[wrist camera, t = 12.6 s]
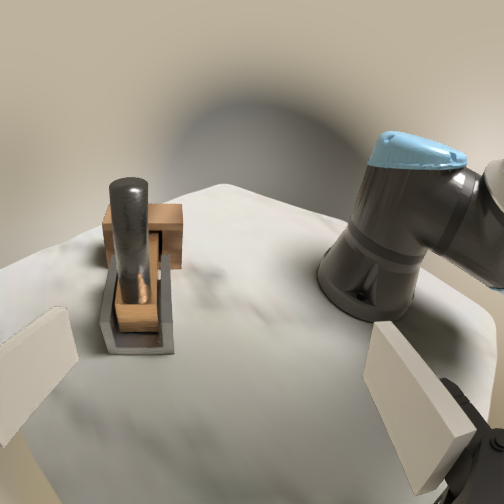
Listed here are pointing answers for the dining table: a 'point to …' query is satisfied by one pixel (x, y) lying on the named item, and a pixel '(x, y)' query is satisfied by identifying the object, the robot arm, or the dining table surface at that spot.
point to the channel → (138, 340)
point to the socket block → (161, 219)
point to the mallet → (134, 256)
